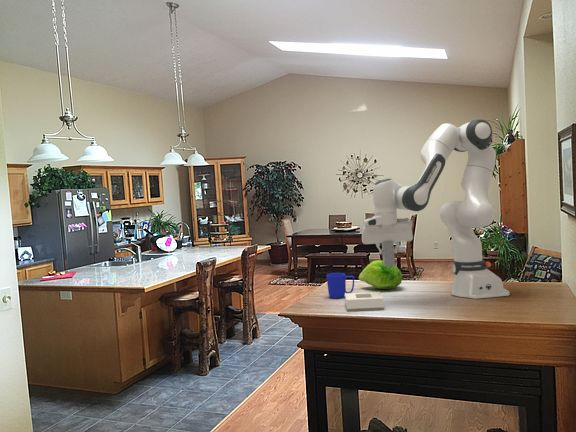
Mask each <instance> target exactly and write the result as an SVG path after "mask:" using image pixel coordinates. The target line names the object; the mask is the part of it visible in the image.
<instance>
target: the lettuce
mask: <svg viewBox="0 0 576 432" xmlns="http://www.w3.org/2000/svg"><path fill="white" fill-rule="evenodd" d="M358 280H359V281H360V282H363V283H366V284H368V285H370V286H371V287H374V288H376V289H379V290H391V289H394V288H397V287H398V286H399V285H401V284H402V282H403V274H402V271H401V270H400V269H399V267H397V264H395V266H386V267H385V266H384V265H383V259H382V260H379V259H378V260H377V259H376V260H373V261H371V262H370V263H369V264H367V266H365V267H364V269H363V270H362V271H361V272H360V273H359V276H358Z"/></svg>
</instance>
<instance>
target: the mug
mask: <svg viewBox="0 0 576 432" xmlns="http://www.w3.org/2000/svg"><path fill="white" fill-rule="evenodd" d="M325 276H326V282H327V283H326V285H327V289H328V290H327V291H328V296H329V298H332V299H341V298H345V293H353V291H354V288H355V275H346V274H345V273H344V272H331V273H328V274H326V275H325ZM347 278H351V279H352V285H351V286H352V287H351V290H350V291H347V290H346V289H347V288H346V284H347V283H346V282H347Z"/></svg>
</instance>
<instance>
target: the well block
mask: <svg viewBox="0 0 576 432" xmlns="http://www.w3.org/2000/svg"><path fill="white" fill-rule="evenodd" d="M344 298H345V299H344V301H345V303H344V304H345V307H346V311H347V312H348V313H349V312H365V311H368V312H369V311H385V305H384V304H385V302H384V297H383V295H382V294H381V292H380V291H370V292H369V291H368V292H351V293H345V295H344Z"/></svg>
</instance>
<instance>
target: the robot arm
mask: <svg viewBox="0 0 576 432" xmlns="http://www.w3.org/2000/svg"><path fill="white" fill-rule="evenodd" d="M492 137H493V128H492V125H491V124H490V123H489V122H488V120H486V119H474V120H471V121H469V122H466V123H464V124H461V125H460V126H459V127H457V126H456V125H454V124H452V123H448V122H447V123H442V124H440V126H438V127H437V128H436V129H435V130H434V131H433V133H431V134H430V136H429V137H428V138H427V140H426V141H425V142H424V145H423V146H422V148H421V151H420V159H421V161H422V162H423V163H424V164H425V168H424V170H423V172H422V173H421V175H420V177H419V178H418V180H417V182H415V183H414V184H411V185H404V184H401V183H398V182H397V181H395V180H393V179H392V178H384V179H380V180H377V181H376V182H375V183H374V184H373V190H372V197H373V198H372V199H373V200H372V201H373V204H374V212H373V213H374V216H371V217H369V218H366V219H364V220H363V225H364V226H363V227H362V231H361V242H362V243H363V245H374V244H375V246H376V248H377V249H378V251H379V252H378V253H379V255H383V254H384V253H383V249H382V248H380V246H381V244H382V243H383V241H393V243H394V244H395V246H394V254H398V248H399V246H400V242H402V243H403V242H404V243H405V242H412V241H413V239H414V234H413V229H412V228H413V226H414V225H413V221H412V220H411V219H410V218H409V217H408V218H407V217H405V218H398V213H397V211H398V210H404V211H405V210H406V211H413V212H420V211H423V210H424V209H425V208H426V207H427V205H428V204H429V201H430V197H431V193H432V191H433V189H434V187H435V185H436V183H437V182H438V180H439V178H440V176H441V175H442V172H443V170H444V168H445V165H446V162H447V160H448V158H450V156H451V154H452V152H453V151H455V152H458V153H459V152H460V153H463V152H464V153H465V152H467V155H468V156H467V157H468V158H467V161H466V165H465V169H464V171H463V175H462V178H461V181H460V186H461V188H462V189H463V190H464V191H465V192H464V193H465V195H464V196H465V197H464V199H463V200H453V201H448V202H445V203H444V204H443V205H442V206H441V208H440V210H439V217H440V219H441V221H442V223H444V225H445V226H446V227H447V229H448V232H449V234H450V237H451V241H452V247H453V248H452V249H453V261H452V272H453V284H452V291H451V295H453V296H454V297H461V298H470V299H474V300H477V299H478V300H479V299H486V298H487V299H488V298H489V299H490V298H498V297H508V296H510V291H509V290H508V289H506V288H504V284H503V280H502V279H501V277H499V276H498V275H496V274H495V273H494V272H492V271H491V270H489V269H488V268H490V267H491V266H492V264H491V262H490V261H485V260H484V259H483V250H482V249H483V247H482V245H483V243H482V241H481V238H479V237H478V236H477V235H476V234H475V232H474V230H473V229H475V228H476V229H480V228H485V227H488V226H490V225H491V224H492V223H493V222H494V220H495V215H496V214H495V209H494V207H493V206H492V204H491V203H490V199H489V188H490V186H491V185H490V184H491V182H492V176H493V175H494V174H493V173H494V172H495V171H494V170H495V165H496V159H497V158H496V157H497V151H496V150H495V148H494V147H492V146H491V145H492V143H493V138H492Z"/></svg>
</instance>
